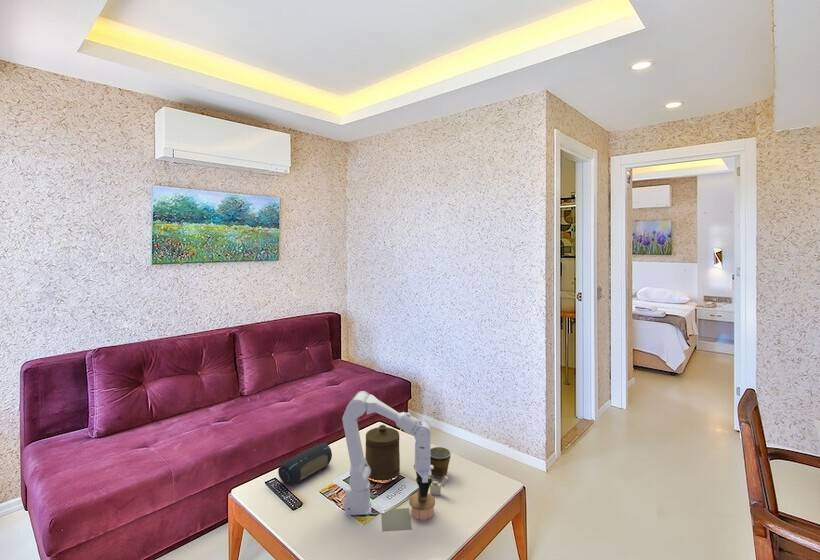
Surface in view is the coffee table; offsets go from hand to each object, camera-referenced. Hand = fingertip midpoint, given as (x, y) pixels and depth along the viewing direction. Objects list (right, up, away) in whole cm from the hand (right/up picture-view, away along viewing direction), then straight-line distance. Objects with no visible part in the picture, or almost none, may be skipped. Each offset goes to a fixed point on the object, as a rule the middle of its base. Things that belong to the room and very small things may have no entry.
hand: (422, 490), depth 155 cm
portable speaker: (-49, -7, +28) cm, 57 cm away
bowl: (0, -9, +1) cm, 9 cm away
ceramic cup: (+7, -7, +27) cm, 29 cm away
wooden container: (-16, -7, +27) cm, 33 cm away
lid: (0, -5, 0) cm, 4 cm away
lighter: (+7, -8, +12) cm, 16 cm away
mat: (-10, -9, -3) cm, 14 cm away
